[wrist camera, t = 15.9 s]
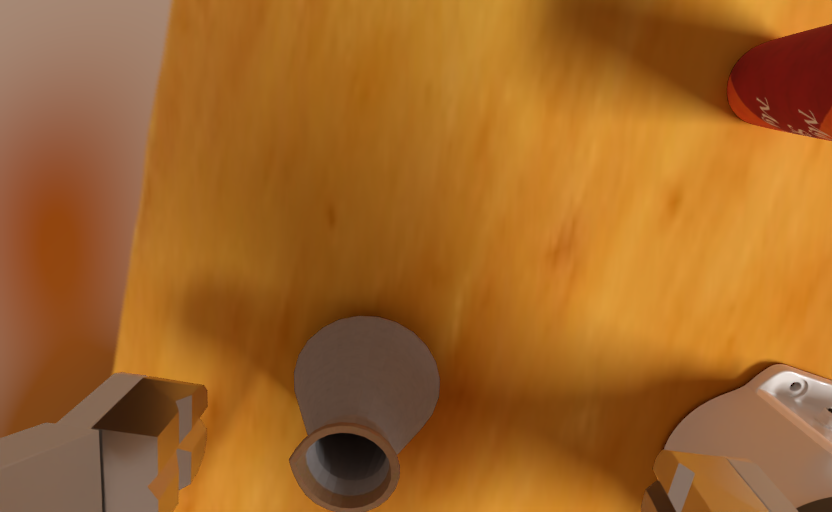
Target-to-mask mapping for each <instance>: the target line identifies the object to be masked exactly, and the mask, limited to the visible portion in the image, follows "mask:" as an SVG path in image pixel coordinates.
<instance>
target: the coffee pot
mask: <svg viewBox="0 0 832 512" xmlns="http://www.w3.org/2000/svg"><path fill="white" fill-rule="evenodd" d="M439 388H440V377H439V373H438V369H437V365H436V361H435V360H434V358H433V356H432V354H431V352H430V351H429V349H428V347H427V345H426V344H425V343H424V342H423V341H422V340H421V339H420V338H419V337H418V336H417V335H416V334H415V333H414V332H412V331H411V330H409V329H407V328H405V327H404V326H402V325H400V324H399V323H397V322H395V321H391V320H388V319H385V318H381V317H375V316H355V317H349V318H344V319H339V320H337V321H335V322H333V323H331V324H329V325H327V326H325V327H323V328H322V329H321V330H319V331H318V332H317V333H316V334H315V335H314V336H313V337H311V338H310V339H309V340H308V341H307V343H306V345H305V346H304V348H303V349H302V351H301V352H300V354H299V356H298V360H297V363H296V367H295V371H294V389H295V394H296V397H297V400H298V404H299V407H300V411H301V414H302V417H303V421H304V424H305V427H306V431H307V434H308V436H307V437H306V438H305V439H304V440H303V441H302V442H301V443H300V444H299V446H298V447H297V448H296V449H295V451H294V452H293V454H292V455H291V457H290V458H289V462H290V465H291V468H292V471H293V474H294V476H295V478H296V480H297V482H298V484H299V486H300V487H301V489H302V490H303V492H304V493H305V495H306V496H308V497H309V498H310V499H311V500H312V501H313V502H315V503H316V504H318V505H320V506H322V507H324V508H325V509H328V510H331V511H335V512H366V511H369V510H371V509H373V508H376V507H378V506H379V505H381V504H382V503H383V502H385V501H386V500H387V499H388V498H389V497H390V495H391V494H392V493H393V491H394V490H395V489H396V486H397V483H398V480H399V477H400V465H399V461H398V457H397V455H398V453H399V452H400V451H401V450H402V449H403V448H404V447H405V446H406V445H407V444H408V443H409V441H410V440H411V439H412V438H413V437H414V436H415V435H416V434H417V433H418V432H419V431H420V429H421V428H422V427H423V426H424V425H425V423H426V422H427V421H428V419H429V418H430V417H431V415H432V414H433V411H434V408H435V406H436V403H437V400H438V398H439Z"/></svg>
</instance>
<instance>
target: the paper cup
mask: <svg viewBox="0 0 832 512" xmlns="http://www.w3.org/2000/svg"><path fill="white" fill-rule="evenodd" d="M727 98H728V102H729V105H730V107H731V109H732V110H733V112H734V113H735V114H736V115H737V116H738V117H739V118H740V119H742V120H743V121H745V122H748V123H750V124H753V125H757V126H761V127H765V128H770V129H774V130H779V131H784V132H789V133H794V134H799V135H804V136H809V137H814V138H819V139H824V140H829V141H832V24H830V25H826V26H823V27H819V28H815V29H811V30H807V31H804V32H800V33H796V34H793V35H789V36H785V37H782V38H778V39H775V40H771V41H768V42H765V43H763V44H760V45H758V46H756V47H754V48H752V49H751V50H749V51H748V52H747V53H745V54H744V55H743V56H742V57H741V58H740V59H739V60H738V62H737V63H736V64H735V66H734V68H733V69H732V71H731V74H730V76H729V80H728V84H727Z"/></svg>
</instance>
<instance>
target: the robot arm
mask: <svg viewBox="0 0 832 512" xmlns="http://www.w3.org/2000/svg"><path fill="white" fill-rule="evenodd" d="M794 382H795V384H794V385H793V386H791V384H792V383H794ZM790 386H791V387H790ZM207 407H208V400H207V389H206V387H205V386H204V385H201V384H195V383H189V382H183V381H176V380H170V379H164V378H158V377H151V376H149V377H148V376H146V375H139V374H131V373H123V372H121V373H114V374H113V375H112V376H111V377H109V378H108V379H107V380H106V381H105V382H104V383H103V384H101V385H100V386H99V387H98V388H97V389H96V390H95V391H93V392H92V393H91V394H90V395H89V396H88V397H86V398H85V399H84V400H83V401H82V402H80V403H79V404H78V405H77V406H76V407H75V408H74V409H72V410H71V411H70V412H69V413H68V414H67V415H65V416H64V417H63V418H62V419H61V420H60V421H58V422H57V423H56V424H51V423H44V424H41V425H38V426H35V427H32V428H29V429H26V430H24V431H20V432H18V433H15V434H12V435H9V436H6V437H3V438H0V512H173V511H174V509H175V508H176V506H177V505H178V498H179V490H180V489H182V488H184V487H186V486H187V485H189V484H191V482H192V481H193V479H194V477H195V476H196V474H197V472H198V470H199V467H200V465H201V462H202V459H203V456H204V453H205V447H206V441H207V428H206V426H205V425H204V424H203V422H202V421H201V419H200V417H201V415H202V414H203V413H204V411H205V410H206V408H207ZM653 471H654V473H655V475H656V477H657V481H656V482H654V483H653V484H652V485H651V486H649V487H648V488H647V489H646V490H645V494H644V497H643V501H642V505H641V512H832V381H831V380H829V379H826V378H823V377H820V376H817V375H814V374H811V373H808V372H805V371H802V370H799V369H796V368H794V367H791V366H788V365H784V364H776V365H772V366H770V367H768V368H767V369H765V370H763V371H762V372H761V373H759V374H758V375H757V376H756V377H754V378H753V379H752V380H751V381H750V382H748V383H747V384H746V385H744V386H743V387H741V388H738V389H736V390H734V391H731V392H728V393H726V394H723V395H720V396H718V397H716V398H713V399H711V400H709V401H708V402H706V403H704V404H702V405H701V406H699V407H698V408H696V409H695V410H694V411H692V412H691V413H690V414H689V415H688V416H686V417H685V418H684V419H683V420H682V421H681V422H680V423H679V425H678V426H677V427H676V428H675V430H674V431H673V432H672V434H671V435H670V437H669V439H668V441H667V443H666V445H665V447H664V450H662V451H661V452H660V453H659V454H658V456H657V457H656V460H655V463H654V466H653Z"/></svg>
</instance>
